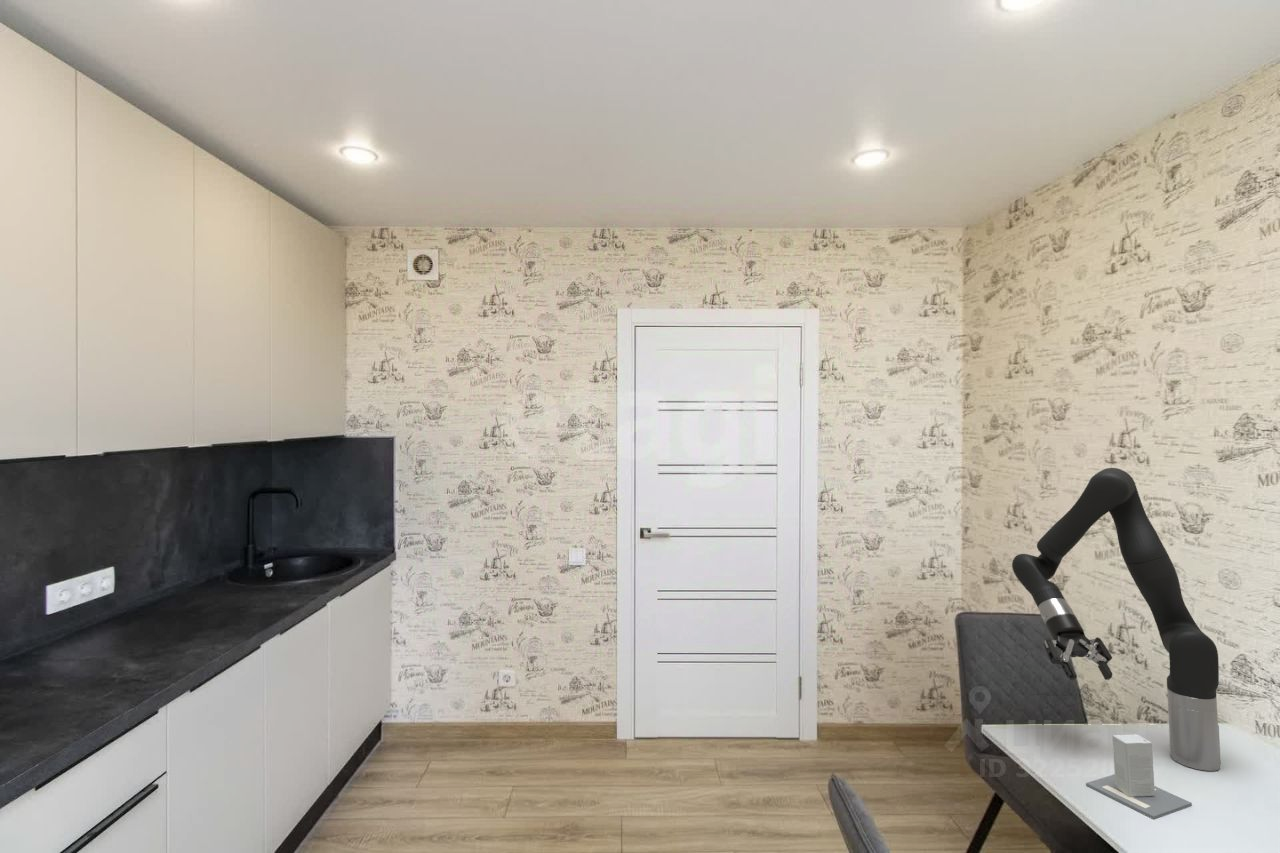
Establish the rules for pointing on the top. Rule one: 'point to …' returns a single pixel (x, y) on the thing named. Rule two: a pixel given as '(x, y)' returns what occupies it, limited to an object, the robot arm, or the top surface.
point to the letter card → (1141, 798)
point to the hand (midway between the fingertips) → (1091, 678)
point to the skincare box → (1133, 765)
